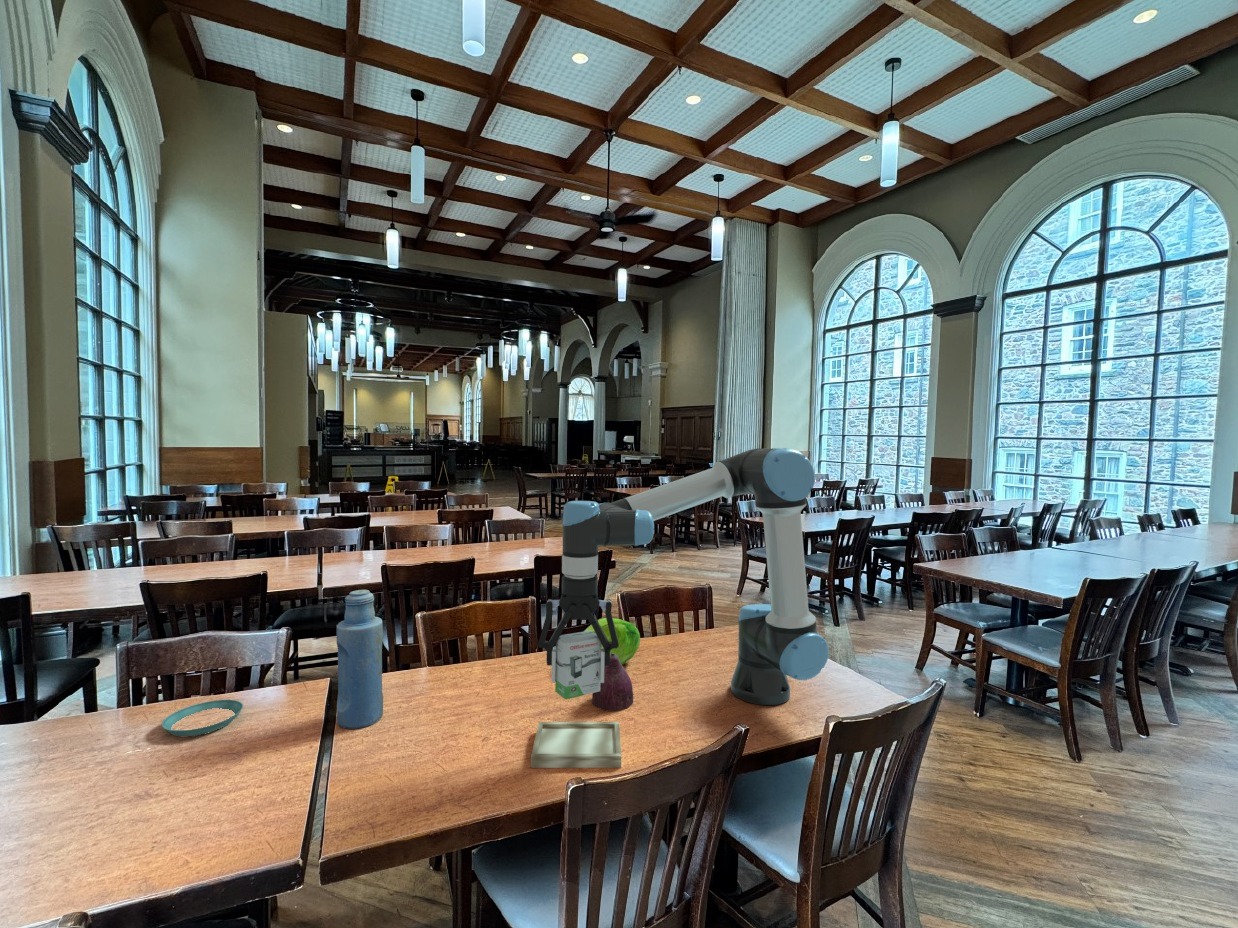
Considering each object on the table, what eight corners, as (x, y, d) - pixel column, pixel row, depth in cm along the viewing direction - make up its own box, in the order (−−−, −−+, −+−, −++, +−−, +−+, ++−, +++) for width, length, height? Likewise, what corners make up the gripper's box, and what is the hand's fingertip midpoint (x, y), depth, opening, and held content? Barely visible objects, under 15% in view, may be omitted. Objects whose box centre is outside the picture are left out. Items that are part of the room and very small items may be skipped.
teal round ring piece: (223, 704, 135) (223, 693, 135) (256, 720, 128) (256, 708, 128) (149, 730, 122) (149, 719, 122) (180, 749, 115) (180, 737, 115)
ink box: (564, 700, 112) (565, 643, 112) (554, 691, 117) (554, 636, 116) (601, 691, 117) (602, 636, 117) (590, 682, 121) (590, 629, 121)
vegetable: (627, 724, 134) (633, 673, 130) (586, 714, 136) (591, 663, 132) (636, 696, 144) (642, 647, 139) (598, 687, 146) (602, 638, 141)
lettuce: (566, 662, 165) (569, 615, 168) (627, 664, 172) (629, 618, 176) (583, 668, 152) (586, 616, 155) (648, 669, 159) (650, 620, 163)
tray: (618, 731, 124) (618, 721, 124) (621, 767, 110) (621, 756, 110) (538, 731, 124) (538, 721, 124) (530, 767, 110) (530, 756, 110)
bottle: (390, 719, 129) (390, 591, 128) (346, 734, 121) (346, 599, 121) (372, 705, 135) (373, 584, 134) (329, 719, 128) (330, 591, 127)
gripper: (631, 571, 120) (629, 673, 121) (529, 570, 119) (527, 672, 120) (633, 579, 113) (631, 687, 113) (524, 578, 112) (522, 687, 112)
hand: (578, 679), depth 117 cm, fingers closed on ink box, 9 cm apart
